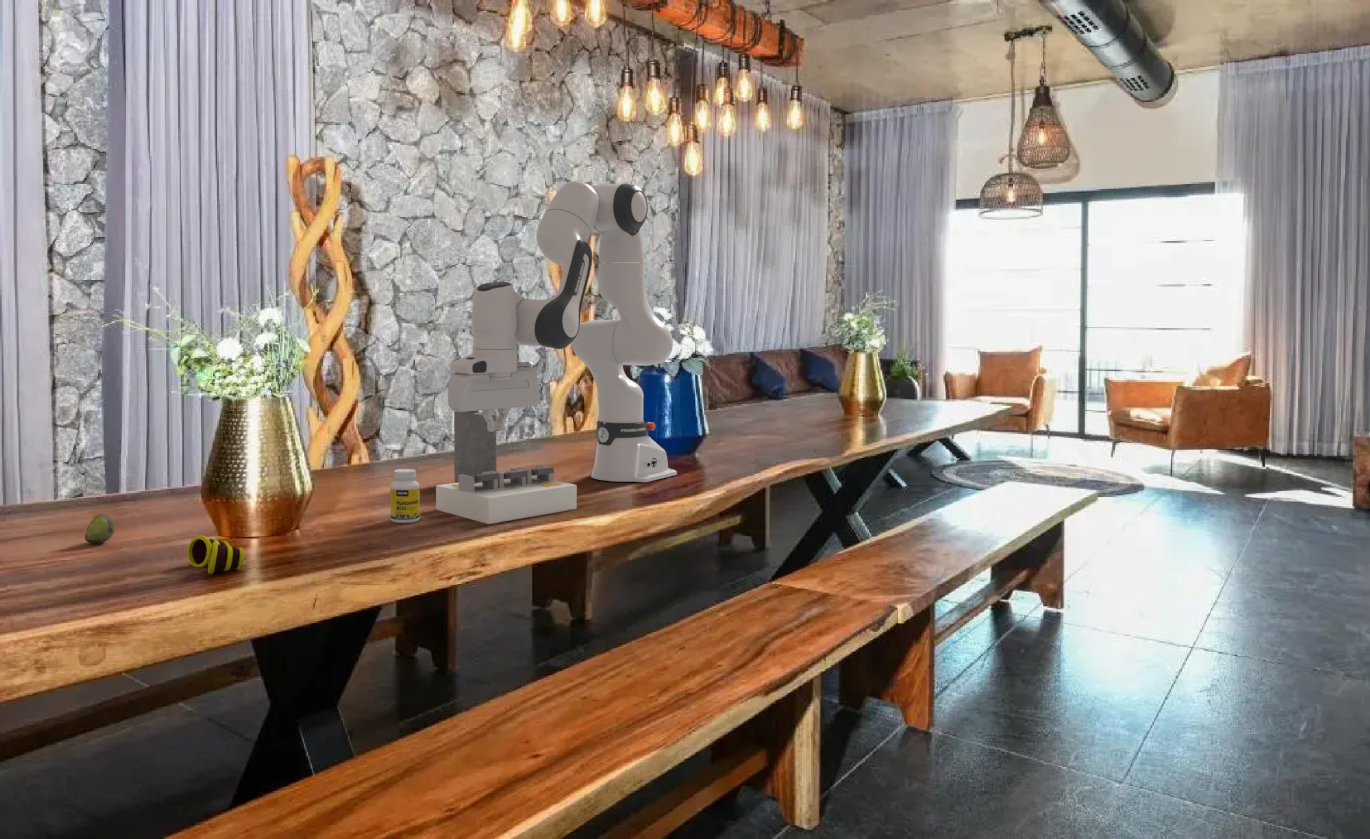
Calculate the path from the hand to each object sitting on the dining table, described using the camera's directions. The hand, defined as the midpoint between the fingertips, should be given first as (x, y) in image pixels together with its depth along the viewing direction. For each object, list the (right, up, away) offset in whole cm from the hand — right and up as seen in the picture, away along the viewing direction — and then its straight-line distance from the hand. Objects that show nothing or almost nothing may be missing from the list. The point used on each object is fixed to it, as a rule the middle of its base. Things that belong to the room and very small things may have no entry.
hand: (495, 430), depth 194 cm
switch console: (+2, -16, +2) cm, 16 cm away
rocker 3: (+7, -9, +7) cm, 13 cm away
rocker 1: (-3, -10, -4) cm, 11 cm away
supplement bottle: (-15, -17, -10) cm, 25 cm away
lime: (-61, -19, -33) cm, 71 cm away
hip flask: (-10, -14, +26) cm, 31 cm away
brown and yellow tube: (-34, -21, -46) cm, 61 cm away
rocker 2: (+2, -9, +1) cm, 10 cm away
